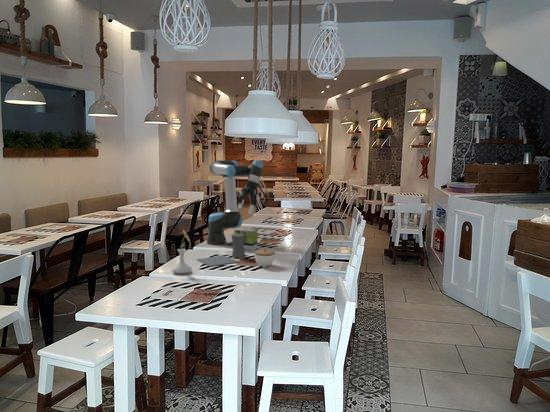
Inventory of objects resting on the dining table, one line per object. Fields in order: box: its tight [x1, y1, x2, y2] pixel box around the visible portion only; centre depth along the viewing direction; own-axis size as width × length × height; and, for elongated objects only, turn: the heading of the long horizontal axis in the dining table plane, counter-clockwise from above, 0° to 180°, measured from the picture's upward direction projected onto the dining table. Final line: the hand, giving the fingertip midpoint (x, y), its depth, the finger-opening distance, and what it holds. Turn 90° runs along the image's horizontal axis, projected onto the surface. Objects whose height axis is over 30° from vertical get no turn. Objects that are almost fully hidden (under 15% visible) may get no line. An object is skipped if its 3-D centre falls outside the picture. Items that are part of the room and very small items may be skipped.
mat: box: [196, 254, 239, 268], centre depth 283 cm, size 20×20×1 cm
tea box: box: [233, 227, 258, 251], centre depth 319 cm, size 15×10×15 cm, turn 73°
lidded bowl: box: [254, 248, 275, 267], centre depth 272 cm, size 13×13×11 cm
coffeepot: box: [231, 231, 246, 259], centre depth 296 cm, size 15×9×18 cm, turn 151°
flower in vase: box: [171, 229, 193, 275], centre depth 255 cm, size 13×11×25 cm
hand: (244, 211), depth 296 cm, fingers open, 13 cm apart
